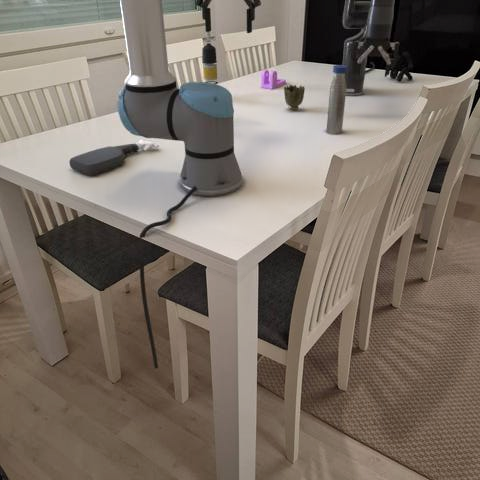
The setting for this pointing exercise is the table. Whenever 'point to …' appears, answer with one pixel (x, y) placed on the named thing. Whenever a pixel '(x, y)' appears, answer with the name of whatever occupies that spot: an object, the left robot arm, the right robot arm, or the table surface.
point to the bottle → (336, 104)
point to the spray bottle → (106, 157)
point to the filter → (209, 61)
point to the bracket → (271, 80)
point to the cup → (294, 96)
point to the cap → (340, 69)
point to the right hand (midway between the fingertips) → (372, 75)
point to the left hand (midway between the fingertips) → (228, 32)
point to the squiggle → (401, 67)
